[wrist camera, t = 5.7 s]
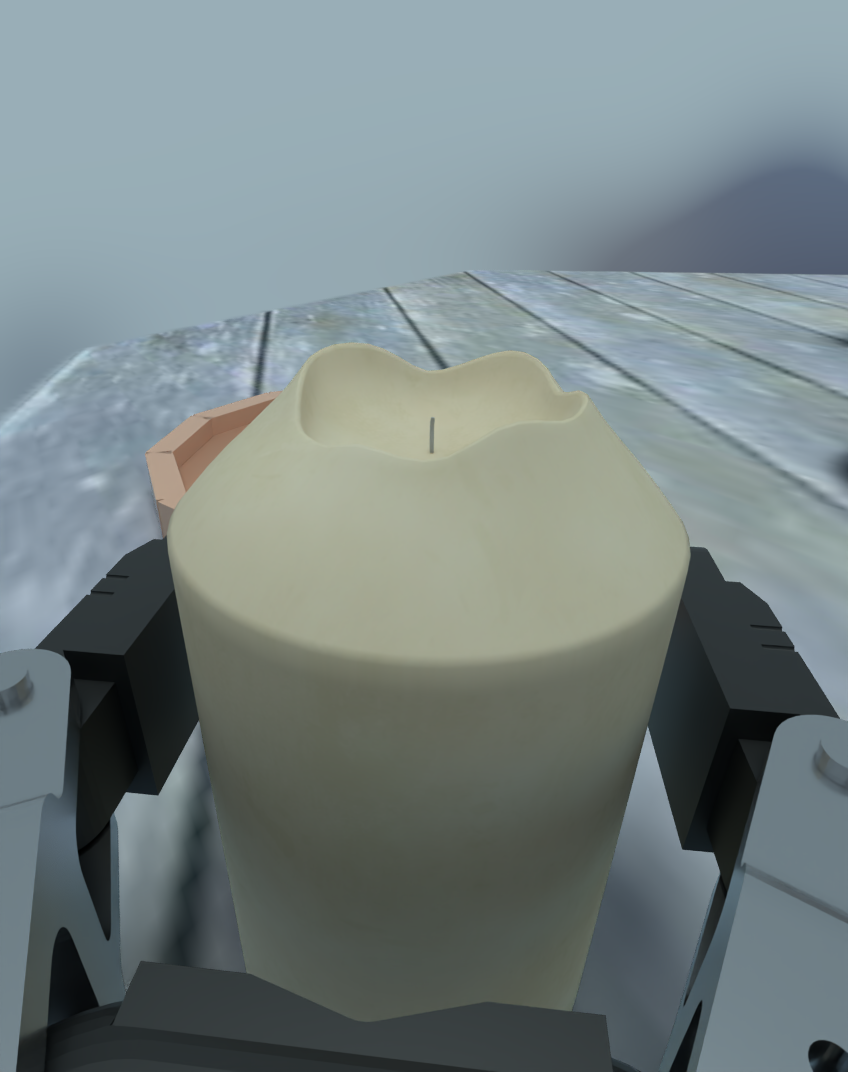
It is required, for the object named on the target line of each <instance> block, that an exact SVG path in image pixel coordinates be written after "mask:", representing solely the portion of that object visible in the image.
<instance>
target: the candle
mask: <svg viewBox="0 0 848 1072" xmlns="http://www.w3.org/2000/svg"><path fill="white" fill-rule="evenodd" d="M167 545H168V554H169V560H170V566H171V571H172V577H173V582H174V588H175V593H176V598H177V604H178V609H179V615H180V620H181V625H182V631H183V636H184V641H185V647H186V652H187V657H188V663H189V668H190V673H191V679H192V684H193V689H194V695H195V700H196V706H197V711H198V716H199V722H200V727H201V732H202V738H203V743H204V748H205V754H206V759H207V764H208V770H209V775H210V780H211V786H212V791H213V796H214V802H215V807H216V812H217V818H218V823H219V828H220V834H221V839H222V844H223V850H224V855H225V860H226V866H227V871H228V876H229V882H230V887H231V892H232V898H233V903H234V908H235V914H236V919H237V924H238V930H239V935H240V941H241V946H242V951H243V957H244V962H245V967H246V973H247V974H252V975H254V976H257V977H259V978H261V979H263V980H266V981H268V982H270V983H272V984H274V985H277V986H279V987H281V988H283V989H286V990H288V991H290V992H292V993H295V994H297V995H299V996H301V997H304V998H306V999H308V1000H310V1001H312V1002H315V1003H317V1004H319V1005H321V1006H324V1007H326V1008H328V1009H330V1010H333V1011H335V1012H337V1013H339V1014H342V1015H344V1016H346V1017H348V1018H351V1019H354V1020H357V1021H363V1022H372V1021H380V1020H385V1019H391V1018H397V1017H402V1016H408V1015H414V1014H419V1013H425V1012H431V1011H436V1010H442V1009H448V1008H453V1007H459V1006H465V1005H470V1004H476V1003H482V1002H495V1003H504V1004H512V1005H521V1006H529V1007H538V1008H547V1009H555V1010H564V1011H572V1009H573V1005H574V1002H575V999H576V996H577V992H578V989H579V985H580V981H581V978H582V974H583V970H584V966H585V962H586V959H587V955H588V951H589V947H590V943H591V939H592V936H593V932H594V928H595V924H596V920H597V917H598V913H599V909H600V905H601V901H602V898H603V894H604V890H605V886H606V882H607V878H608V875H609V871H610V867H611V863H612V859H613V856H614V852H615V848H616V844H617V840H618V836H619V833H620V829H621V825H622V821H623V817H624V814H625V810H626V806H627V802H628V798H629V795H630V791H631V787H632V783H633V779H634V775H635V772H636V768H637V764H638V760H639V756H640V753H641V749H642V745H643V741H644V737H645V734H646V730H647V726H648V722H649V718H650V714H651V711H652V707H653V703H654V699H655V695H656V692H657V688H658V684H659V680H660V676H661V673H662V669H663V665H664V661H665V657H666V653H667V650H668V646H669V642H670V638H671V634H672V630H673V627H674V623H675V619H676V615H677V611H678V607H679V604H680V600H681V596H682V592H683V588H684V584H685V580H686V576H687V572H688V567H689V561H690V556H691V553H690V543H689V537H688V534H687V532H686V529H685V527H684V524H683V522H682V520H681V519H680V517H679V516H678V514H677V513H676V511H675V510H674V508H673V507H672V505H671V504H670V503H669V501H668V500H667V498H666V497H665V496H664V494H663V493H662V491H661V490H660V489H659V487H658V486H657V485H656V483H655V482H654V481H653V479H652V478H651V477H650V475H649V474H648V473H647V471H646V470H645V469H644V468H643V466H642V465H641V464H640V462H639V461H638V460H637V459H636V457H635V456H634V455H633V454H632V453H631V451H630V450H629V449H628V448H627V447H626V446H625V444H624V443H623V442H622V441H621V440H620V438H619V437H618V436H617V435H616V433H615V432H614V431H613V430H612V428H611V427H610V426H609V425H608V423H607V422H606V421H605V419H604V418H603V417H602V415H601V414H600V412H599V411H598V409H597V408H596V406H595V405H594V403H593V402H592V400H591V399H590V397H589V396H588V395H587V394H586V393H584V392H582V391H573V392H564V391H563V390H562V389H561V387H560V386H559V385H558V383H557V382H556V380H555V379H554V378H553V376H552V375H551V373H550V371H549V370H548V368H547V367H546V366H545V365H544V364H543V363H542V362H541V361H540V360H539V359H537V358H535V357H533V356H531V355H529V354H527V353H525V352H519V351H504V352H497V353H493V354H490V355H487V356H483V357H480V358H477V359H474V360H471V361H469V362H466V363H463V364H460V365H457V366H454V367H450V368H447V369H444V370H433V371H426V370H424V369H421V368H419V367H416V366H413V365H412V364H410V363H408V362H407V361H405V360H403V359H402V358H400V357H398V356H396V355H395V354H393V353H391V352H389V351H387V350H385V349H383V348H380V347H377V346H373V345H370V344H364V343H342V344H334V345H332V346H329V347H326V348H323V349H321V350H319V351H318V352H316V353H315V354H313V355H312V356H310V357H309V358H308V360H307V361H306V362H305V363H304V365H303V366H302V367H301V369H300V370H299V371H298V373H297V374H296V375H295V376H294V378H293V379H292V380H291V382H290V383H289V384H288V385H287V387H286V388H285V389H284V390H283V391H282V392H281V393H280V394H279V395H278V396H277V397H276V398H275V399H274V400H273V401H272V402H271V403H270V404H269V405H268V406H267V407H266V408H265V409H264V410H263V411H262V412H261V413H260V414H259V415H258V416H257V417H256V418H255V419H254V420H253V421H252V422H251V423H250V424H249V425H248V426H247V427H246V428H245V429H244V430H243V431H242V432H241V433H240V434H239V435H238V436H237V437H235V438H234V439H233V440H232V441H231V442H230V443H229V444H228V445H227V446H226V447H225V448H224V449H223V450H222V451H221V452H220V453H219V455H218V456H217V457H216V458H215V459H214V460H213V461H212V462H211V463H210V464H209V465H208V467H207V468H206V469H205V470H204V471H203V472H202V474H201V475H200V476H199V477H198V478H197V480H196V481H195V482H194V483H193V485H192V486H191V487H190V488H189V489H188V491H187V492H186V493H185V494H184V496H183V497H182V498H181V499H180V501H179V502H178V504H177V505H176V507H175V509H174V511H173V513H172V515H171V517H170V521H169V526H168V530H167Z"/></svg>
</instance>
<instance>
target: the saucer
mask: <svg viewBox="0 0 848 1072" xmlns="http://www.w3.org/2000/svg"><path fill="white" fill-rule="evenodd" d="M281 392H282V391H277V392H269V393H264V394H261V395H257V396H254V397H251V398H247V399H244V400H241V401H237V402H234V403H231V404H227V405H224V406H221V407H217V408H214V409H211V410H208V411H204V412H201V413H198V414H194V415H193V416H190V417H189V418H188V419H186V420H185V421H184V422H183V423H181V424H180V425H179V426H178V427H177V428H175V429H174V430H173V431H172V432H170V433H169V434H168V435H167V436H165V437H164V438H163V439H162V440H160V441H159V442H158V443H157V444H155V445H154V446H153V447H152V448H150V449H149V450H148V451H147V452H146V454H145V456H146V462H147V467H148V472H149V477H150V483H151V488H152V493H153V498H154V502H155V507H156V511H157V515H158V520H159V524H160V528H161V533H162V537H163V538H164V537H165V536H166V535H167V530H168V526H169V521H170V517H171V515H172V513H173V511H174V509H175V507H176V505H177V504H178V502H179V501H180V499H181V498H182V497H183V496H184V494H185V493H186V492H187V491H188V489H189V488H190V487H191V486H192V485H193V483H194V482H195V481H196V480H197V478H198V477H199V476H200V475H201V474H202V472H203V471H204V470H205V469H206V468H207V467H208V465H209V464H210V463H211V462H212V461H213V460H214V459H215V458H216V457H217V456H218V455H219V453H220V452H221V451H222V450H223V449H224V448H225V447H226V446H227V445H228V444H229V443H230V442H231V441H232V440H233V439H234V438H235V437H237V436H238V435H239V434H240V433H241V432H242V431H243V430H244V429H245V428H246V427H247V426H248V425H249V424H250V423H251V422H252V421H253V420H254V419H255V418H256V417H257V416H258V415H259V414H260V413H261V412H262V411H263V410H264V409H265V408H266V407H267V406H268V405H269V404H270V403H271V402H272V401H273V400H274V399H275V398H276V397H277V396H278V395H279V394H280V393H281Z"/></svg>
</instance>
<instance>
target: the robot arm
mask: <svg viewBox="0 0 848 1072" xmlns="http://www.w3.org/2000/svg"><path fill="white" fill-rule="evenodd" d="M690 553H691V556H690V561H689V567H688V572H687V576H686V580H685V584H684V588H683V592H682V596H681V600H680V604H679V607H678V611H677V615H676V619H675V623H674V627H673V630H672V634H671V638H670V642H669V646H668V650H667V653H666V657H665V661H664V665H663V669H662V673H661V676H660V680H659V684H658V688H657V692H656V695H655V699H654V703H653V707H652V711H651V714H650V718H649V722H648V728H649V731H650V735H651V739H652V742H653V746H654V749H655V753H656V757H657V760H658V764H659V767H660V771H661V775H662V778H663V782H664V785H665V789H666V793H667V796H668V800H669V803H670V807H671V811H672V814H673V818H674V822H675V825H676V829H677V832H678V836H679V840H680V843H681V847H682V849H683V850H693V851H703V852H713V853H714V854H715V857H716V860H717V863H718V866H719V870H720V874H719V876H718V879H717V881H716V884H715V886H714V889H713V891H712V895H711V898H710V902H709V905H708V909H707V912H706V916H705V919H704V923H703V926H702V930H701V933H700V936H699V940H698V943H697V947H696V950H695V954H694V957H693V961H692V964H691V968H690V971H689V974H688V978H687V981H686V985H685V988H684V992H683V995H682V999H681V1002H680V1006H679V1009H678V1012H677V1016H676V1019H675V1023H674V1026H673V1029H672V1032H671V1035H670V1038H669V1041H668V1044H667V1047H666V1050H665V1053H664V1056H663V1059H662V1062H661V1065H660V1067H659V1070H658V1072H848V721H845V720H842V719H840V718H839V716H838V715H837V713H836V711H835V710H834V708H833V707H832V705H831V704H830V702H829V700H828V699H827V697H826V696H825V694H824V692H823V691H822V689H821V688H820V686H819V685H818V683H817V681H816V680H815V678H814V677H813V675H812V673H811V672H810V670H809V669H808V667H807V666H806V664H805V662H804V661H803V659H802V658H801V656H800V654H799V653H798V652H795V651H794V645H793V643H792V642H791V640H790V639H789V637H788V636H787V634H786V632H782V626H781V624H780V623H779V621H778V620H777V618H776V617H775V615H774V613H773V612H772V610H771V609H770V607H769V605H768V604H767V603H766V602H765V601H763V600H762V599H761V598H760V597H758V596H757V595H756V594H754V593H753V592H752V591H751V590H749V589H748V588H747V587H745V586H744V585H743V584H742V583H740V582H728V581H725V580H724V578H723V576H722V574H721V573H720V571H719V569H718V567H717V566H716V564H715V562H714V560H713V559H712V557H711V555H710V553H709V552H708V550H707V549H706V548H702V547H690ZM198 721H199V716H198V711H197V706H196V700H195V695H194V689H193V684H192V679H191V673H190V668H189V663H188V657H187V652H186V647H185V641H184V636H183V631H182V625H181V620H180V615H179V609H178V604H177V598H176V593H175V588H174V582H173V577H172V571H171V566H170V560H169V554H168V545H167V535H166V536H165V537H164V538H163V539H162V540H158V539H153V540H151V541H150V542H148V543H146V544H144V545H142V546H140V547H139V548H137V549H135V550H133V551H131V552H130V553H128V554H126V555H125V556H124V557H123V558H122V559H121V560H120V561H119V562H118V563H117V564H116V565H115V566H114V567H113V568H112V569H111V570H110V571H109V572H108V573H107V574H106V578H102V579H101V580H100V581H99V583H98V584H97V585H96V586H95V587H94V588H93V589H92V590H91V594H90V595H86V596H85V597H84V598H83V599H82V600H81V601H80V602H79V603H78V604H77V605H76V606H75V607H74V608H73V610H72V611H71V612H70V613H69V614H68V615H67V616H66V617H65V618H64V619H63V620H62V621H61V622H60V623H59V624H58V625H57V626H56V627H55V628H54V629H53V630H52V631H51V632H50V633H49V634H48V635H47V636H46V638H45V639H44V640H43V641H42V642H41V643H40V644H39V645H38V646H37V647H36V648H35V649H20V650H14V651H8V652H4V653H0V1072H640V1071H638V1070H637V1069H635V1068H633V1067H631V1066H630V1065H628V1064H625V1063H623V1062H621V1061H619V1060H616V1059H614V1058H612V1057H611V1053H610V1046H609V1038H608V1030H607V1023H606V1015H598V1014H589V1013H581V1012H572V1011H564V1010H555V1009H547V1008H538V1007H529V1006H521V1005H512V1004H504V1003H495V1002H482V1003H476V1004H470V1005H465V1006H459V1007H453V1008H448V1009H442V1010H436V1011H431V1012H425V1013H419V1014H414V1015H408V1016H402V1017H397V1018H391V1019H385V1020H380V1021H372V1022H363V1021H357V1020H354V1019H351V1018H348V1017H346V1016H344V1015H342V1014H339V1013H337V1012H335V1011H333V1010H330V1009H328V1008H326V1007H324V1006H321V1005H319V1004H317V1003H315V1002H312V1001H310V1000H308V999H306V998H304V997H301V996H299V995H297V994H295V993H292V992H290V991H288V990H286V989H283V988H281V987H279V986H277V985H274V984H272V983H270V982H268V981H266V980H263V979H261V978H259V977H257V976H254V975H252V974H247V973H239V972H230V971H222V970H213V969H205V968H196V967H187V966H179V965H170V964H162V963H153V962H145V961H141V962H140V964H139V966H138V968H137V971H136V973H135V975H134V977H133V980H132V982H131V984H130V986H129V988H128V991H127V993H125V988H124V983H123V976H122V968H121V954H120V905H119V852H118V826H117V821H116V817H115V814H114V811H115V809H116V808H117V806H118V804H119V803H120V801H121V799H122V798H123V796H124V794H125V793H126V792H129V793H139V794H149V795H159V793H160V791H161V789H162V787H163V786H164V784H165V782H166V780H167V778H168V776H169V774H170V773H171V771H172V769H173V767H174V765H175V763H176V761H177V760H178V758H179V756H180V754H181V752H182V750H183V748H184V747H185V745H186V743H187V741H188V739H189V737H190V735H191V734H192V732H193V730H194V728H195V726H196V724H197V722H198Z"/></svg>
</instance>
